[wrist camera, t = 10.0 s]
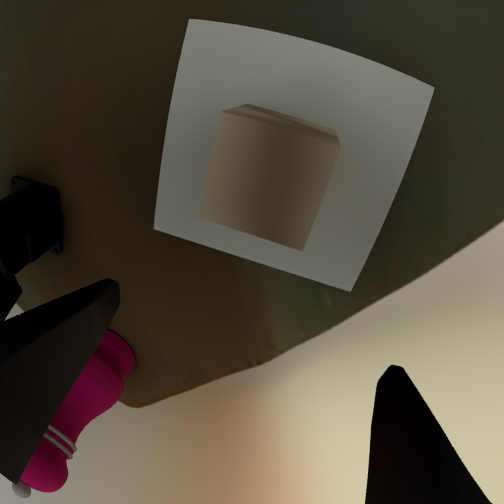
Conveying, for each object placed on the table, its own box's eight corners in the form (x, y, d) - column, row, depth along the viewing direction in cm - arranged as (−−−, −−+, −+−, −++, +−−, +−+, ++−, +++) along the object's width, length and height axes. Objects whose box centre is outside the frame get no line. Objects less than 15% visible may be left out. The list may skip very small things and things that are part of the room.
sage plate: (160, 222, 23) (153, 228, 22) (195, 21, 15) (189, 18, 14) (349, 283, 22) (350, 291, 21) (429, 87, 15) (434, 88, 14)
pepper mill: (79, 313, 30) (-30, 457, 13) (137, 336, 30) (35, 509, 13) (89, 355, 34) (5, 484, 17) (142, 378, 33) (64, 525, 16)
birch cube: (227, 184, 19) (198, 217, 15) (247, 103, 16) (220, 111, 12) (307, 210, 19) (302, 251, 15) (335, 130, 16) (341, 147, 12)
